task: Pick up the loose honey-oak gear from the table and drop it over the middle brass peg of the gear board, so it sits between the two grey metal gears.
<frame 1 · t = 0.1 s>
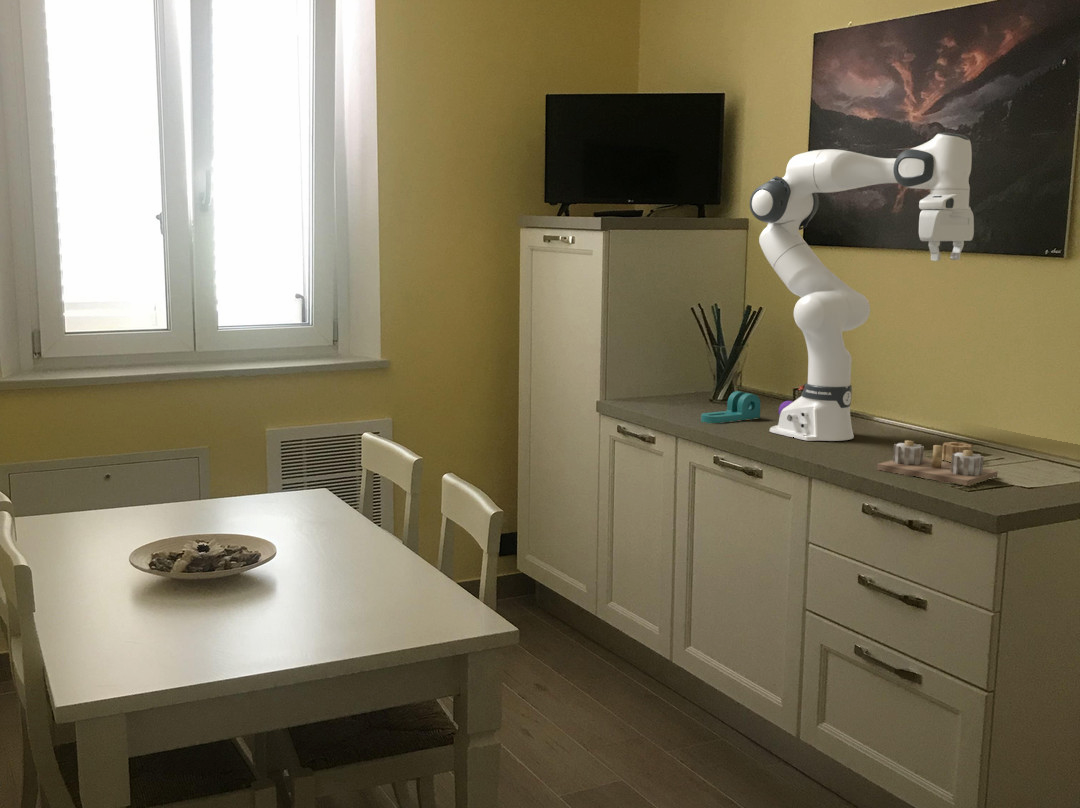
hand: (945, 260, 269), 48 cm above the table, tool pointing down, fingers open, 8 cm apart
oak gear: (956, 460, 270), on the table
gear board: (936, 473, 255), on the table
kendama: (806, 419, 327), on the table
bracket: (728, 421, 323), on the table
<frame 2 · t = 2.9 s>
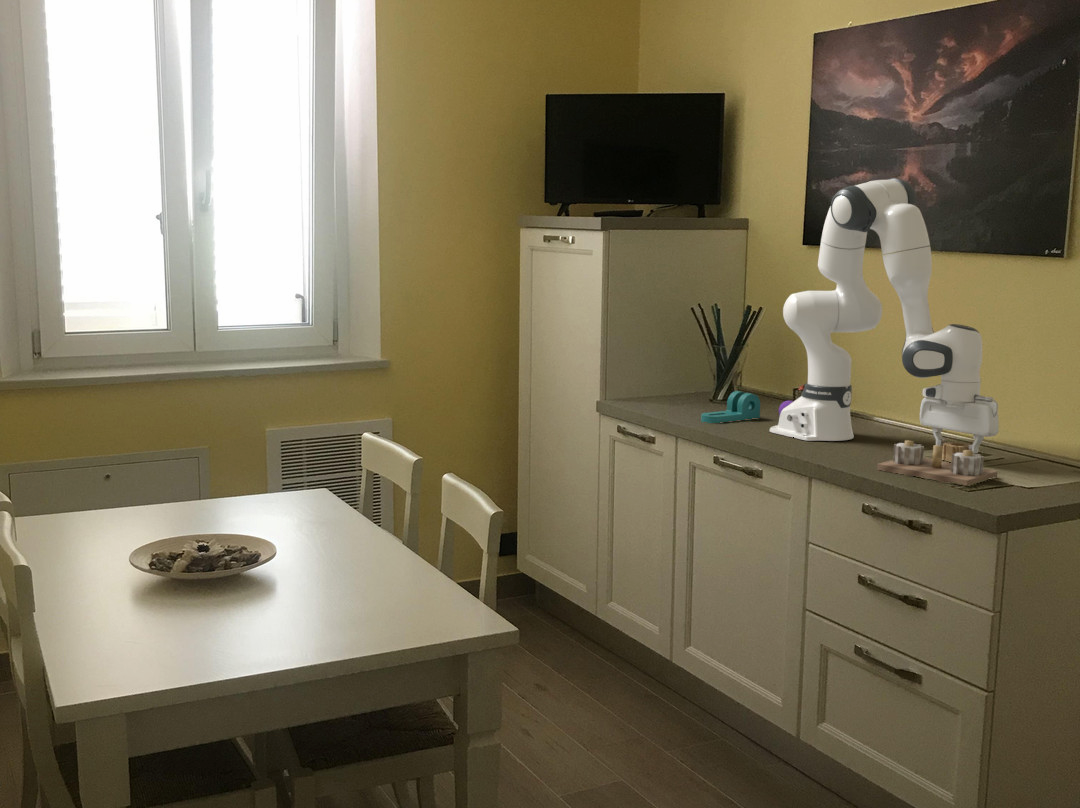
hand: (956, 449, 268), 3 cm above the table, tool pointing down, fingers open, 8 cm apart
nothing on the table moved.
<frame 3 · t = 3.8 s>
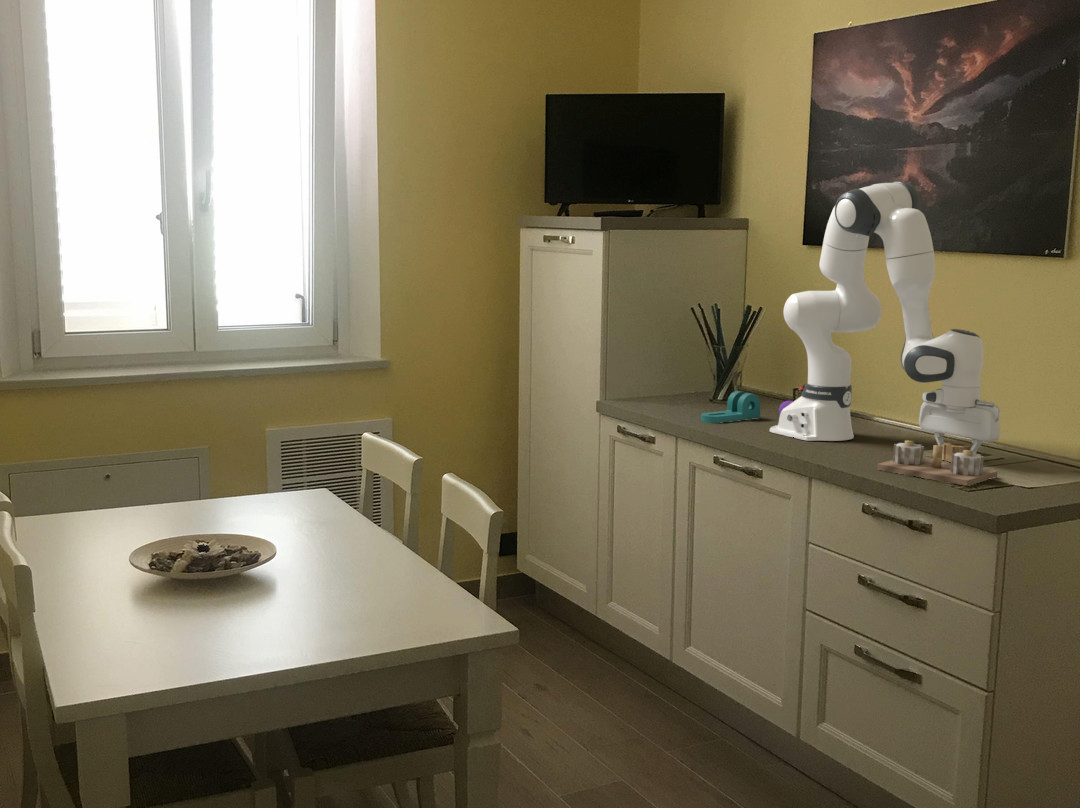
hand: (956, 453, 269), 2 cm above the table, tool pointing down, fingers closed on oak gear, 7 cm apart
oak gear: (956, 460, 270), on the table, touching gripper
everything else where it was.
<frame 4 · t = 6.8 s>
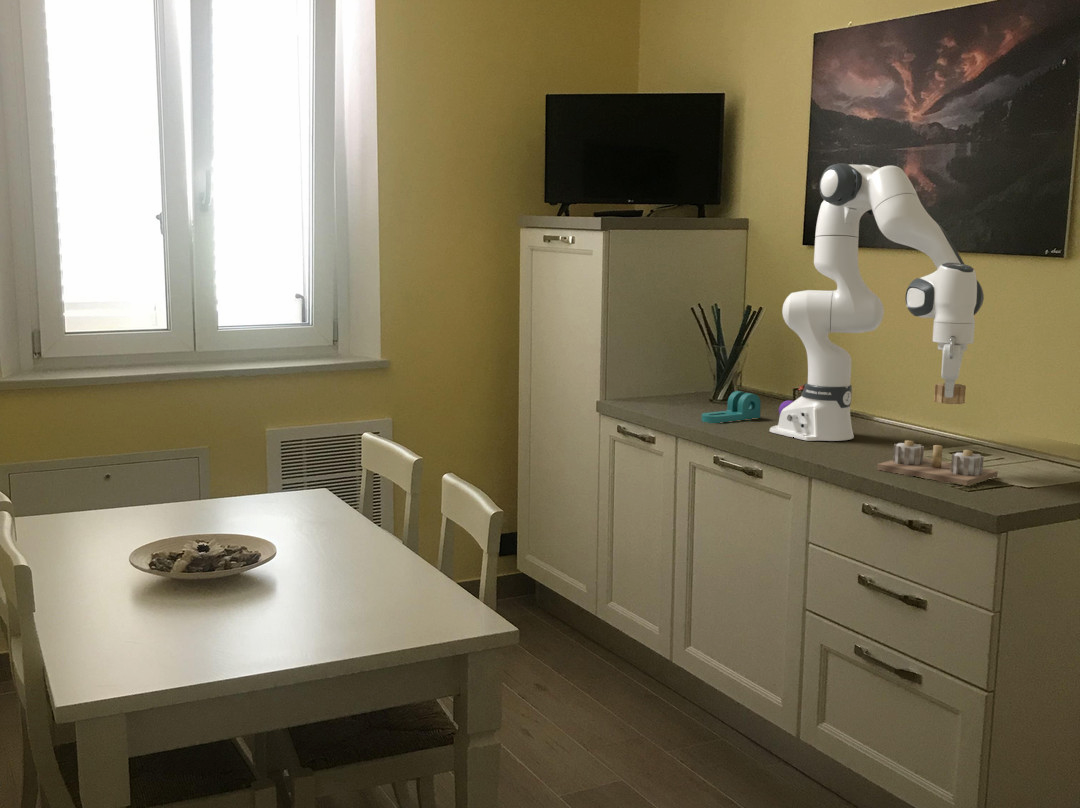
hand: (949, 395, 256), 18 cm above the table, tool pointing down, fingers closed on oak gear, 7 cm apart
oak gear: (949, 402, 256), point 16 cm above the table, touching gripper
everything else where it was.
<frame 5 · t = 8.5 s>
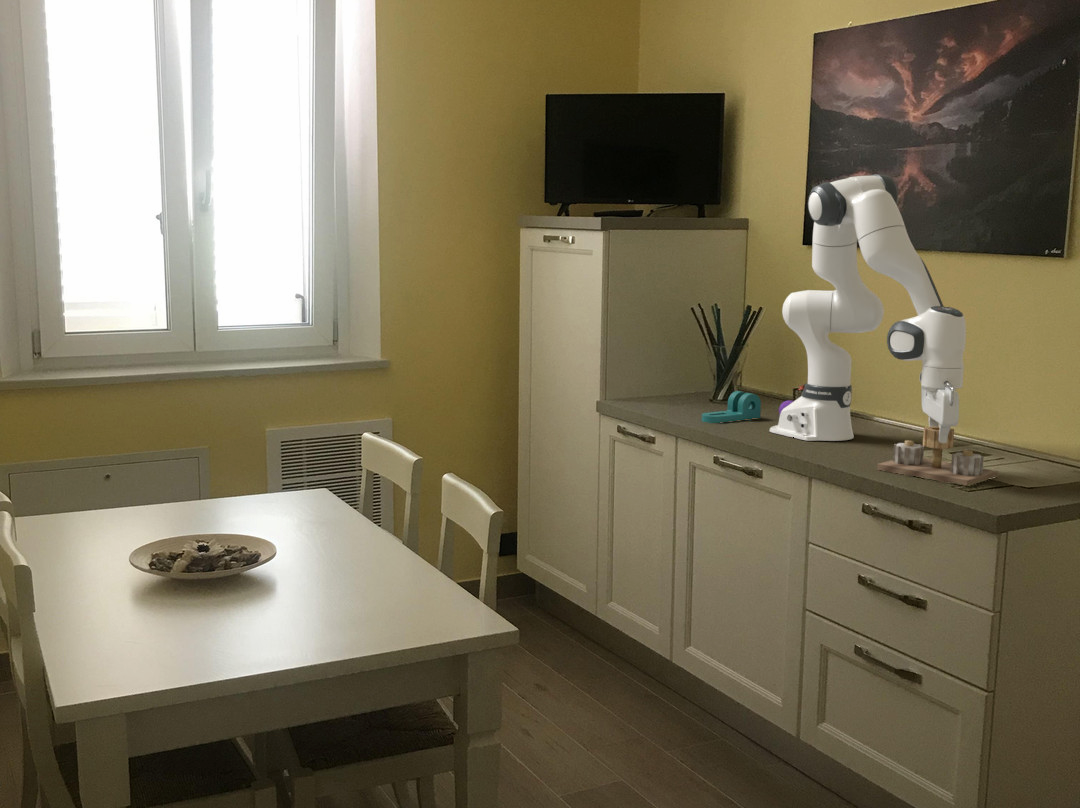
hand: (938, 439, 254), 8 cm above the table, tool pointing down, fingers closed on oak gear, 7 cm apart
oak gear: (937, 446, 254), point 6 cm above the table, touching gripper
everything else where it was.
when the fingers open (4 cm above the table, at t = 9.9 s): oak gear stays where it is, resting on gear board.
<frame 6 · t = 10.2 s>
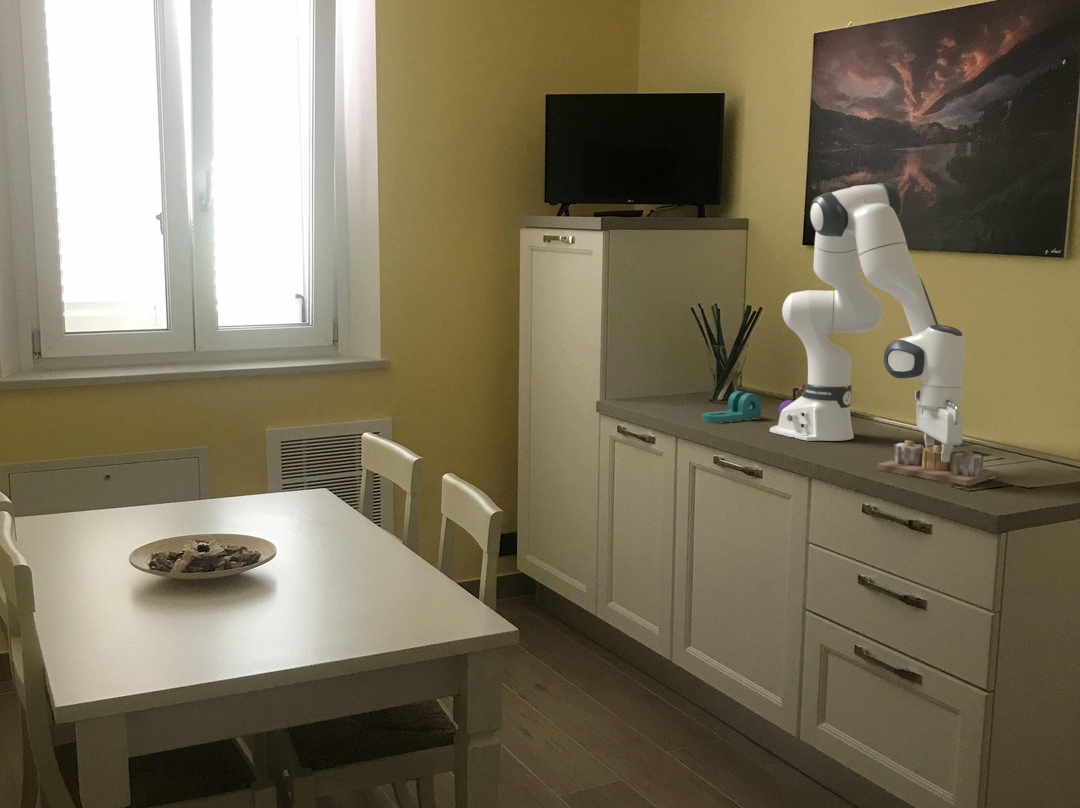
hand: (937, 457, 255), 4 cm above the table, tool pointing down, fingers open, 8 cm apart
oak gear: (936, 467, 255), point 1 cm above the table, touching gear board
everything else where it was.
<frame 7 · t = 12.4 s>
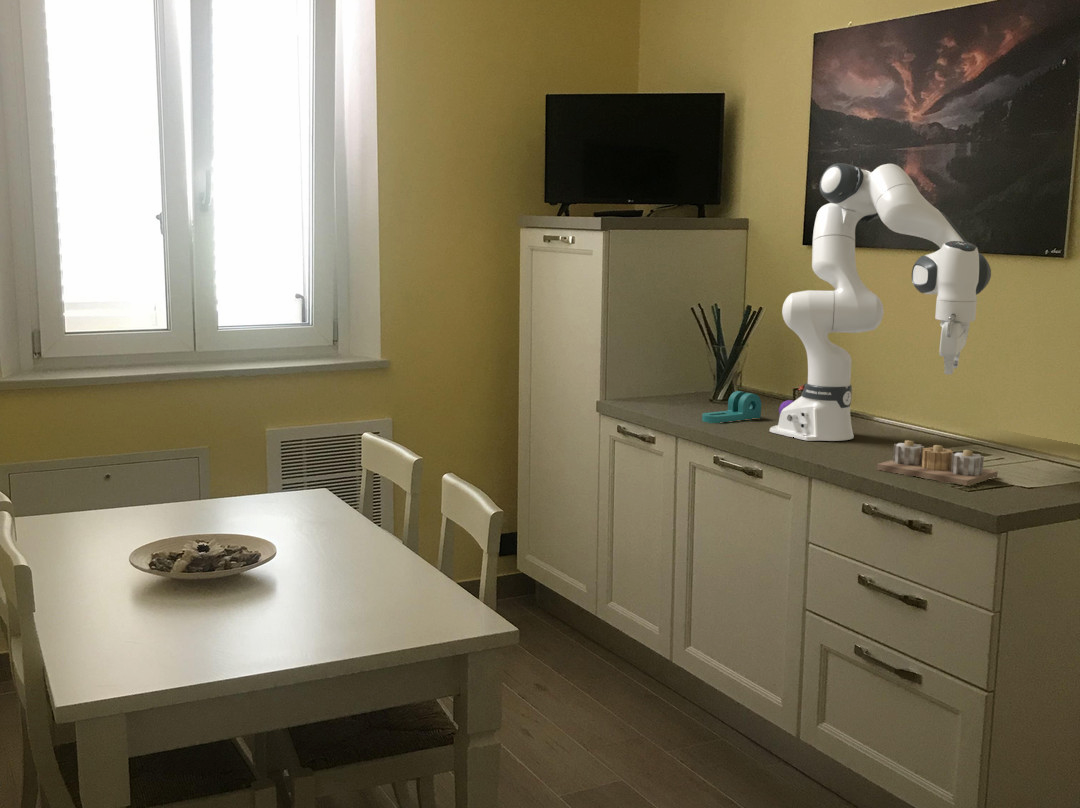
hand: (951, 370, 262), 22 cm above the table, tool pointing down, fingers open, 8 cm apart
nothing on the table moved.
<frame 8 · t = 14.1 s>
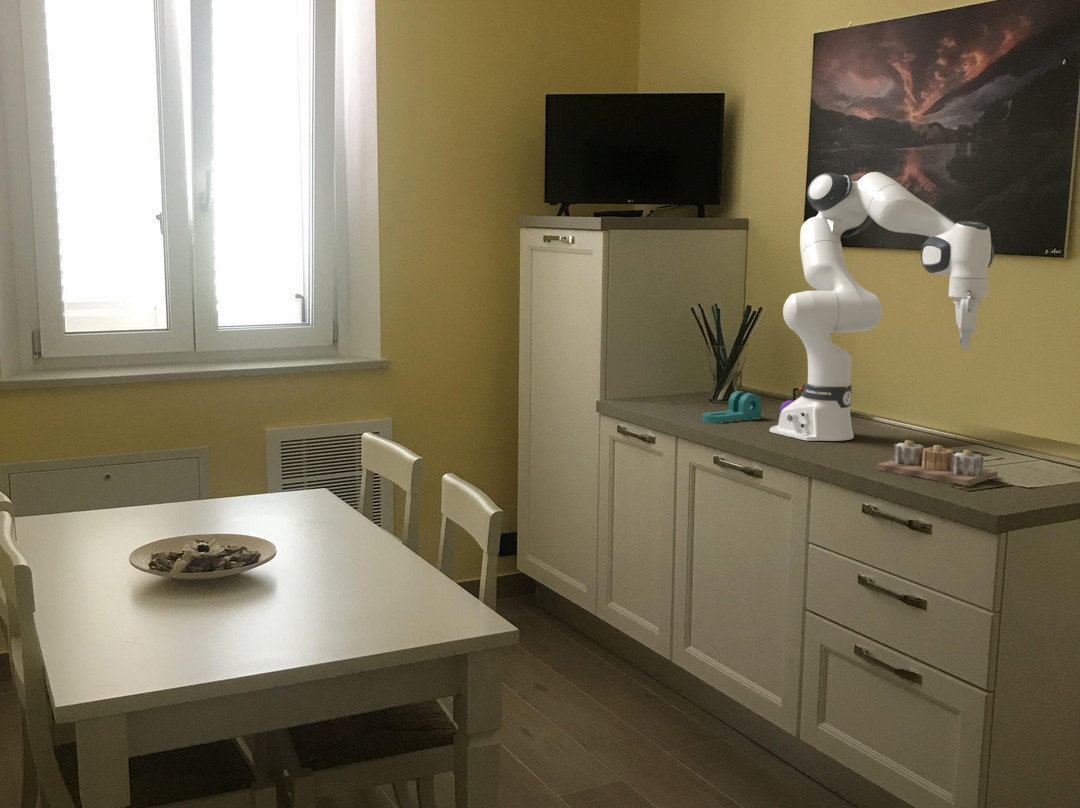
hand: (964, 347, 269), 27 cm above the table, tool pointing down, fingers open, 8 cm apart
nothing on the table moved.
at the end: oak gear 0.1 cm off-centre on the gear board, point 1.5 cm above the gear board's base; oak gear tilted 0°; the gripper is holding nothing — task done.
